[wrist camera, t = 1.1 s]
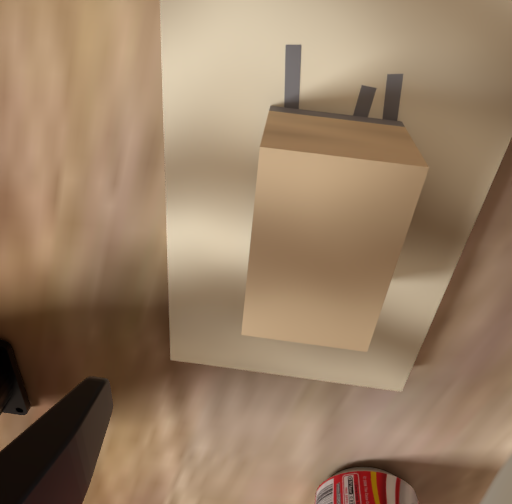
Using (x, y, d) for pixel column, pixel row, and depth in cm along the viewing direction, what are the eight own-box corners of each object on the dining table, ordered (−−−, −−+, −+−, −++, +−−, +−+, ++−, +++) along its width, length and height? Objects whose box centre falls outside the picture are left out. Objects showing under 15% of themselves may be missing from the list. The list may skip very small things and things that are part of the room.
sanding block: (356, 282, 19) (367, 351, 15) (252, 269, 19) (241, 334, 16) (401, 121, 15) (429, 167, 11) (270, 105, 15) (259, 146, 12)
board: (396, 369, 23) (401, 392, 22) (177, 339, 24) (170, 360, 23) (589, -108, 12) (621, -116, 11) (170, -151, 13) (155, -164, 11)
